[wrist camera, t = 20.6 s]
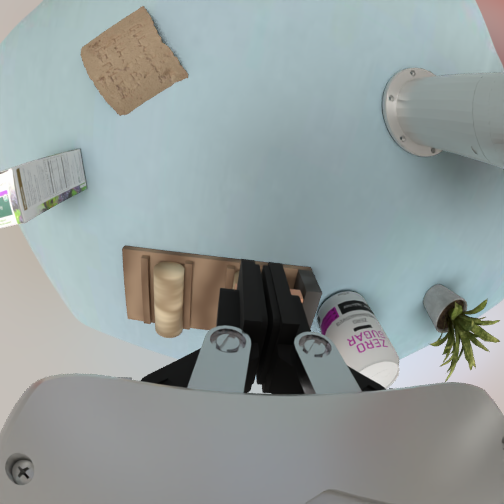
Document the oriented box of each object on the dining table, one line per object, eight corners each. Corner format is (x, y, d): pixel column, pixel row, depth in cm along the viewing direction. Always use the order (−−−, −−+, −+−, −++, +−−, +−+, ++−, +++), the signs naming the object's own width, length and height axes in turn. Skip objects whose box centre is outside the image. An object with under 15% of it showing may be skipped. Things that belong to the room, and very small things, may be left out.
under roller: (182, 261, 39) (186, 276, 35) (180, 319, 43) (184, 336, 39) (152, 261, 37) (154, 277, 34) (154, 320, 41) (156, 338, 38)
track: (310, 267, 41) (322, 292, 35) (291, 332, 46) (298, 361, 40) (124, 245, 38) (107, 267, 32) (129, 314, 43) (117, 341, 37)
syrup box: (56, 195, 34) (-8, 234, 21) (49, 155, 31) (-22, 180, 18) (88, 188, 34) (24, 227, 21) (81, 146, 31) (10, 166, 18)
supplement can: (329, 337, 47) (355, 408, 33) (307, 307, 44) (332, 382, 30) (371, 313, 45) (409, 378, 31) (353, 279, 42) (394, 346, 28)
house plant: (383, 300, 44) (430, 370, 29) (442, 243, 40) (506, 296, 25) (415, 337, 49) (454, 397, 34) (466, 289, 45) (514, 341, 30)
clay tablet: (193, 79, 30) (189, 76, 27) (125, 125, 32) (117, 125, 29) (141, 1, 24) (135, -6, 22) (79, 47, 26) (70, 44, 23)
